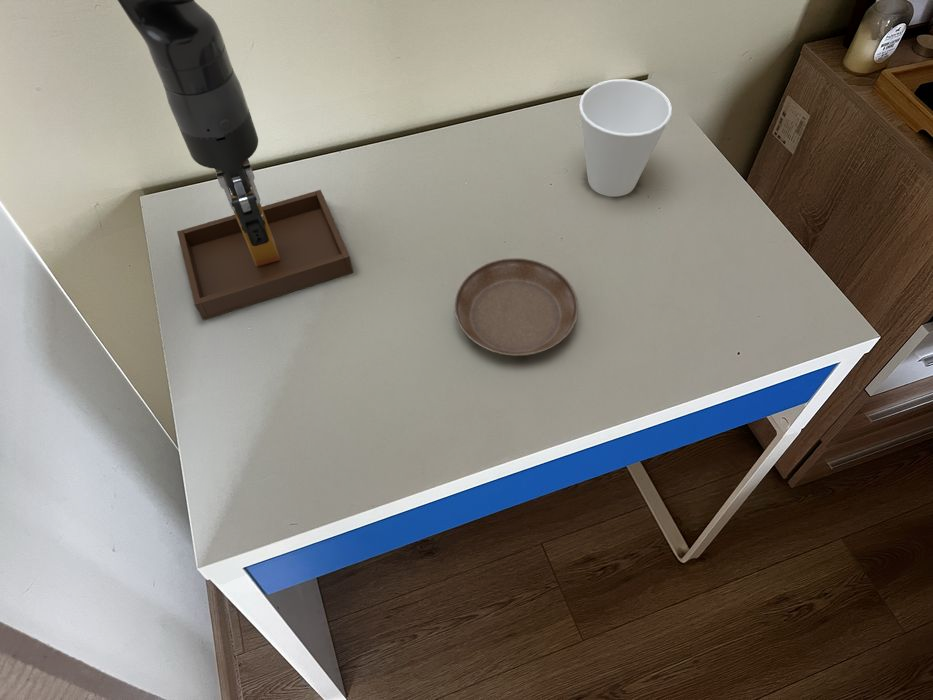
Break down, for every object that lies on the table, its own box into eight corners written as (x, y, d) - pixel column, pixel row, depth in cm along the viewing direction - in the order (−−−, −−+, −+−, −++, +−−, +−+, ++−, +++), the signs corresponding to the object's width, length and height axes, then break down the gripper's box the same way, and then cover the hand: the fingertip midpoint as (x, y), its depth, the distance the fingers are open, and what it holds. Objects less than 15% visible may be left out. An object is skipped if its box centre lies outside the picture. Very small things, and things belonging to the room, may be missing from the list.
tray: (203, 320, 88) (194, 304, 85) (185, 247, 95) (176, 231, 92) (353, 272, 92) (349, 256, 89) (324, 206, 99) (320, 189, 96)
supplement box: (276, 243, 94) (256, 186, 86) (281, 261, 92) (260, 204, 84) (251, 250, 94) (228, 193, 85) (255, 268, 92) (232, 211, 83)
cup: (651, 154, 103) (669, 79, 93) (656, 211, 96) (675, 137, 86) (570, 151, 104) (579, 76, 94) (569, 207, 97) (578, 133, 87)
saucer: (532, 388, 80) (533, 375, 78) (431, 328, 86) (429, 314, 84) (598, 306, 87) (601, 292, 85) (501, 255, 93) (501, 241, 90)
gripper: (166, 84, 78) (215, 200, 92) (187, 163, 70) (237, 276, 84) (233, 68, 79) (271, 184, 93) (261, 143, 71) (299, 257, 85)
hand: (255, 227), depth 88 cm, fingers open, 5 cm apart
